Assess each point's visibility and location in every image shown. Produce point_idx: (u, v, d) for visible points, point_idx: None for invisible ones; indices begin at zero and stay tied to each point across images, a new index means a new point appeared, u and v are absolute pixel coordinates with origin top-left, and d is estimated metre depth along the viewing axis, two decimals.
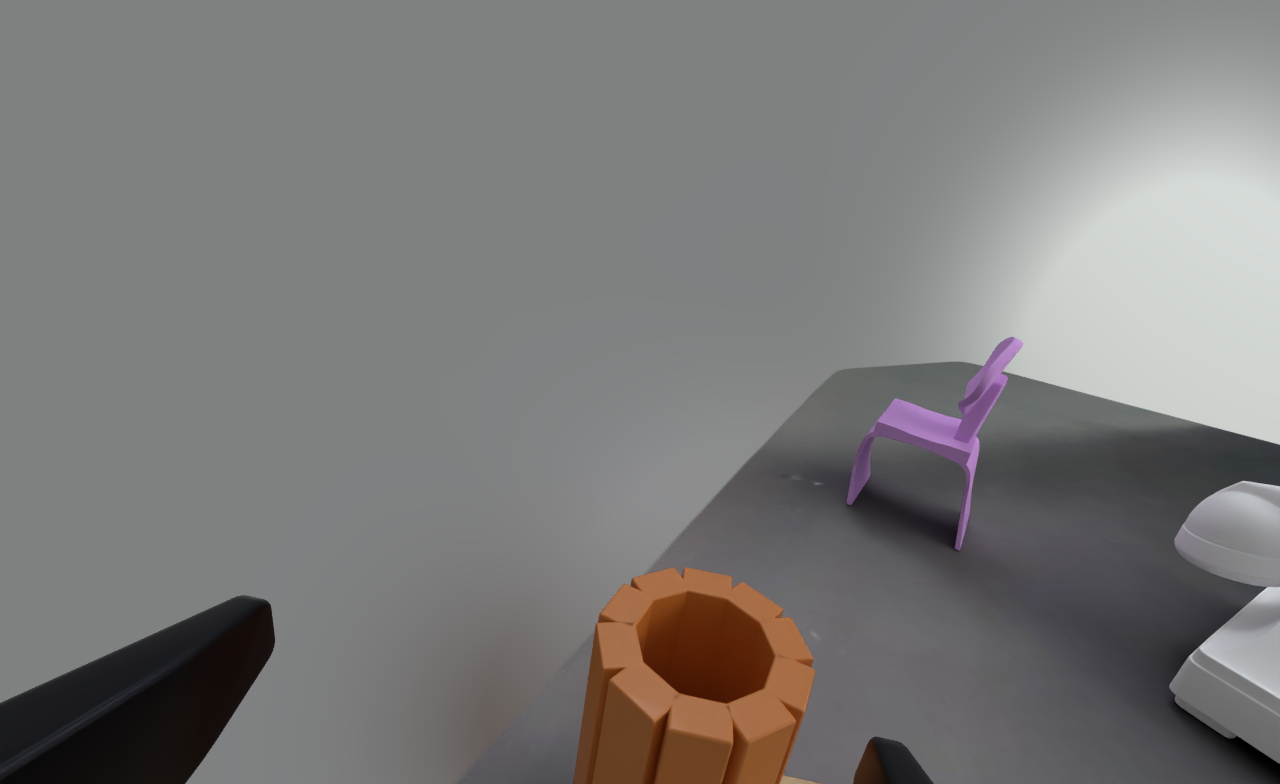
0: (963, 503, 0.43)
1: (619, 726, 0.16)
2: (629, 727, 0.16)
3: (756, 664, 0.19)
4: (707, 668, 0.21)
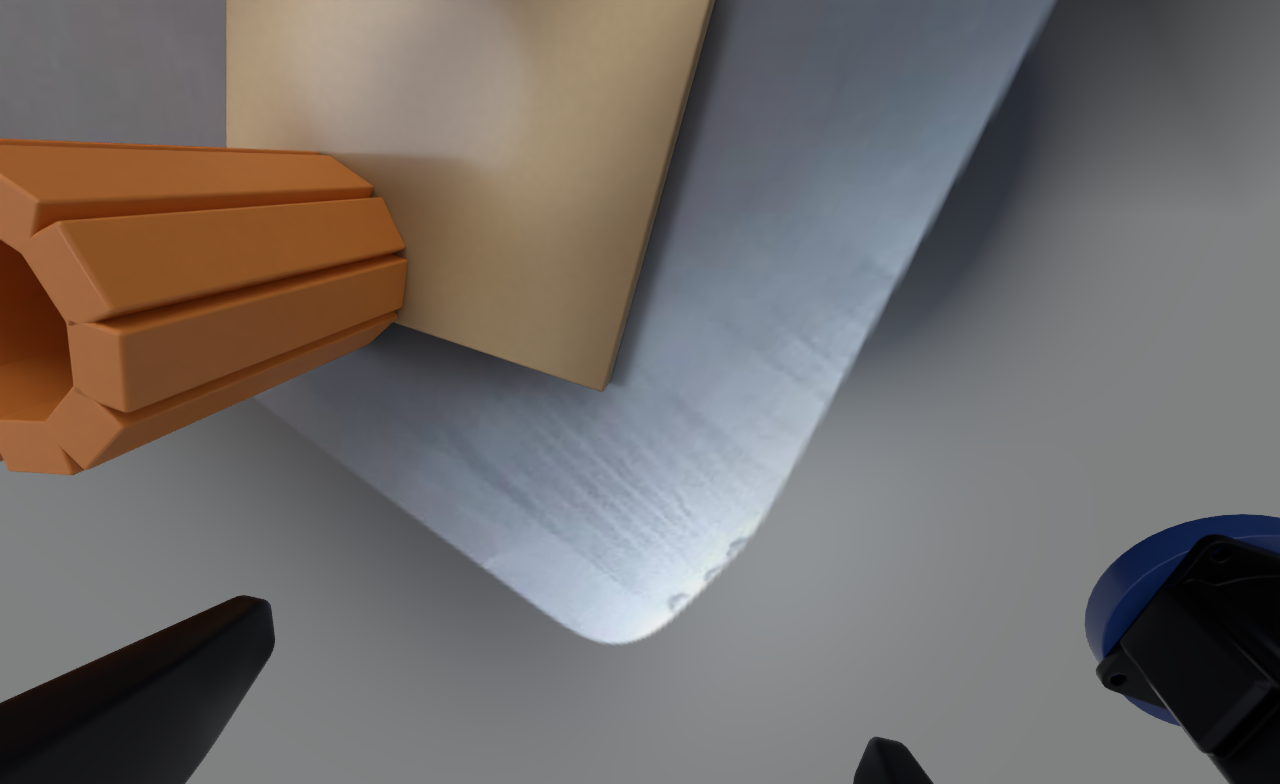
0: None
1: (155, 431, 0.13)
2: (149, 429, 0.13)
3: None
4: None
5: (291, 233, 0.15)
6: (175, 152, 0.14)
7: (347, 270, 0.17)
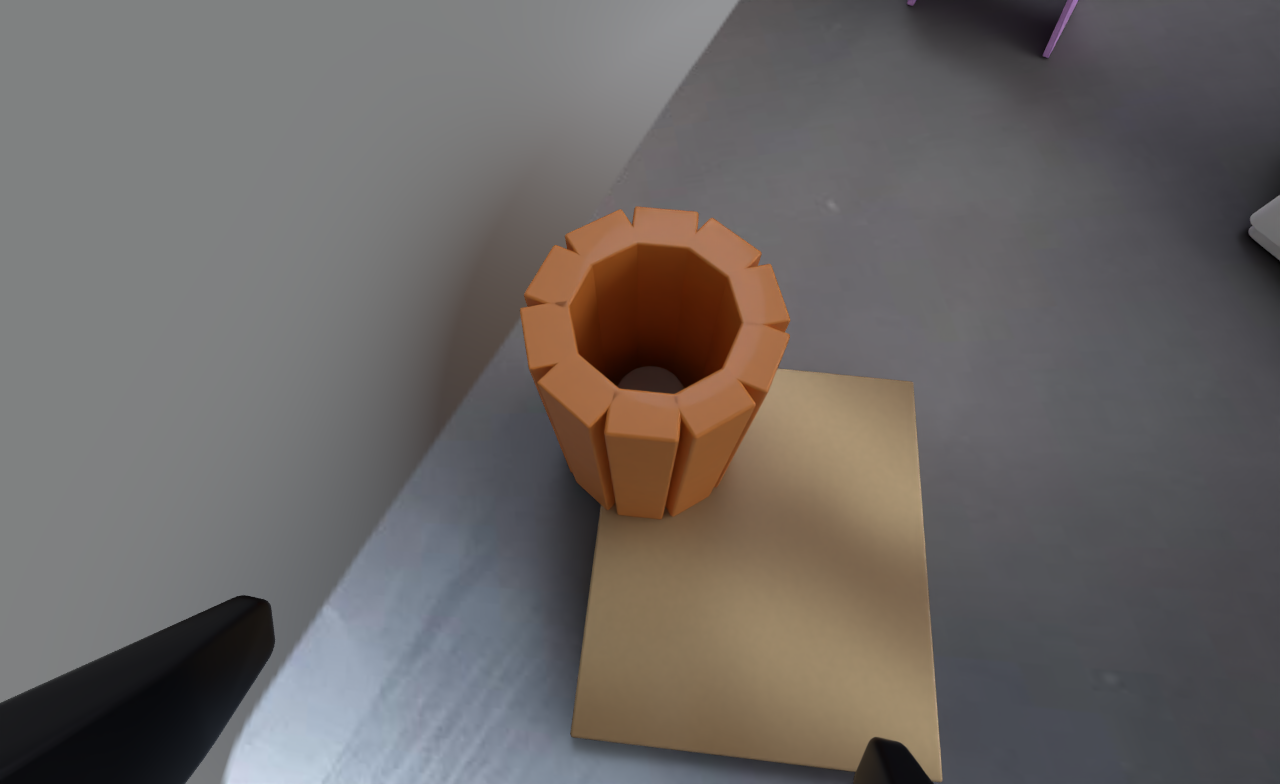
0: None
1: (561, 417, 0.15)
2: (569, 421, 0.14)
3: (725, 319, 0.16)
4: (677, 310, 0.18)
5: (706, 475, 0.18)
6: None
7: None
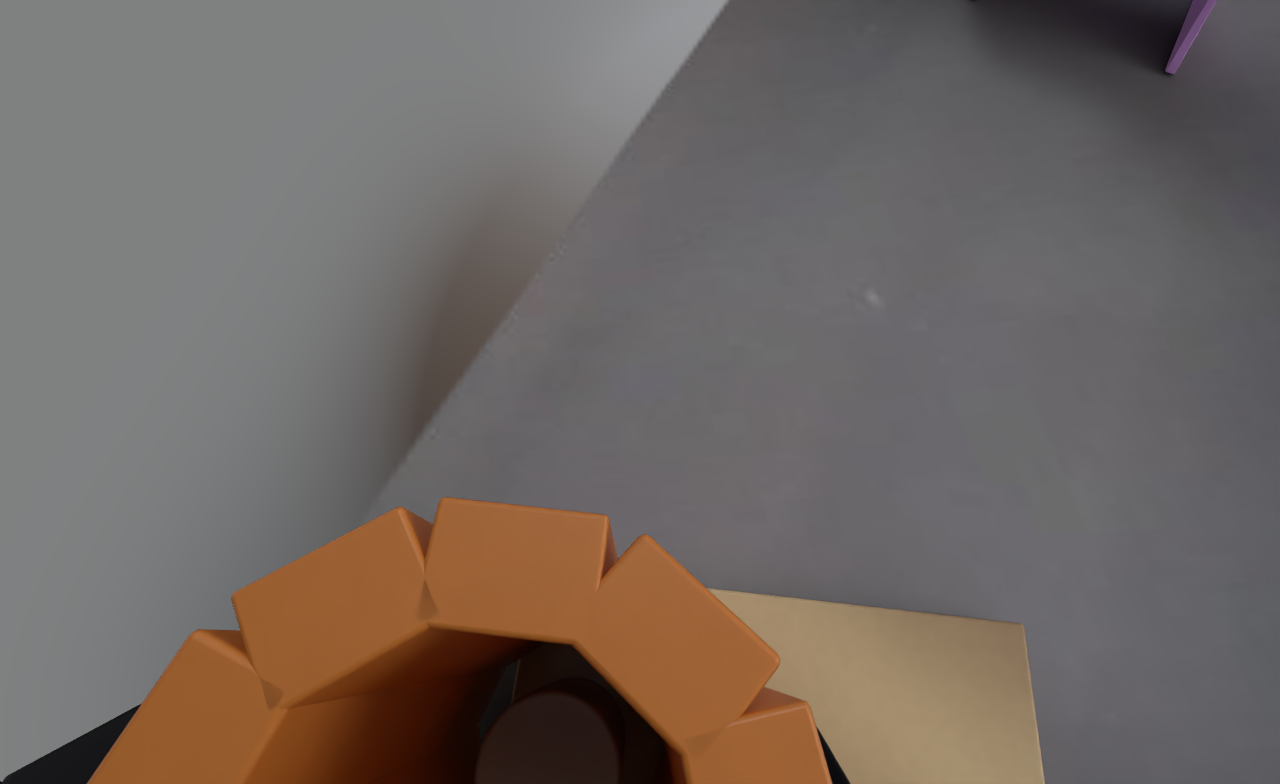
0: None
1: None
2: None
3: None
4: None
5: None
6: None
7: None
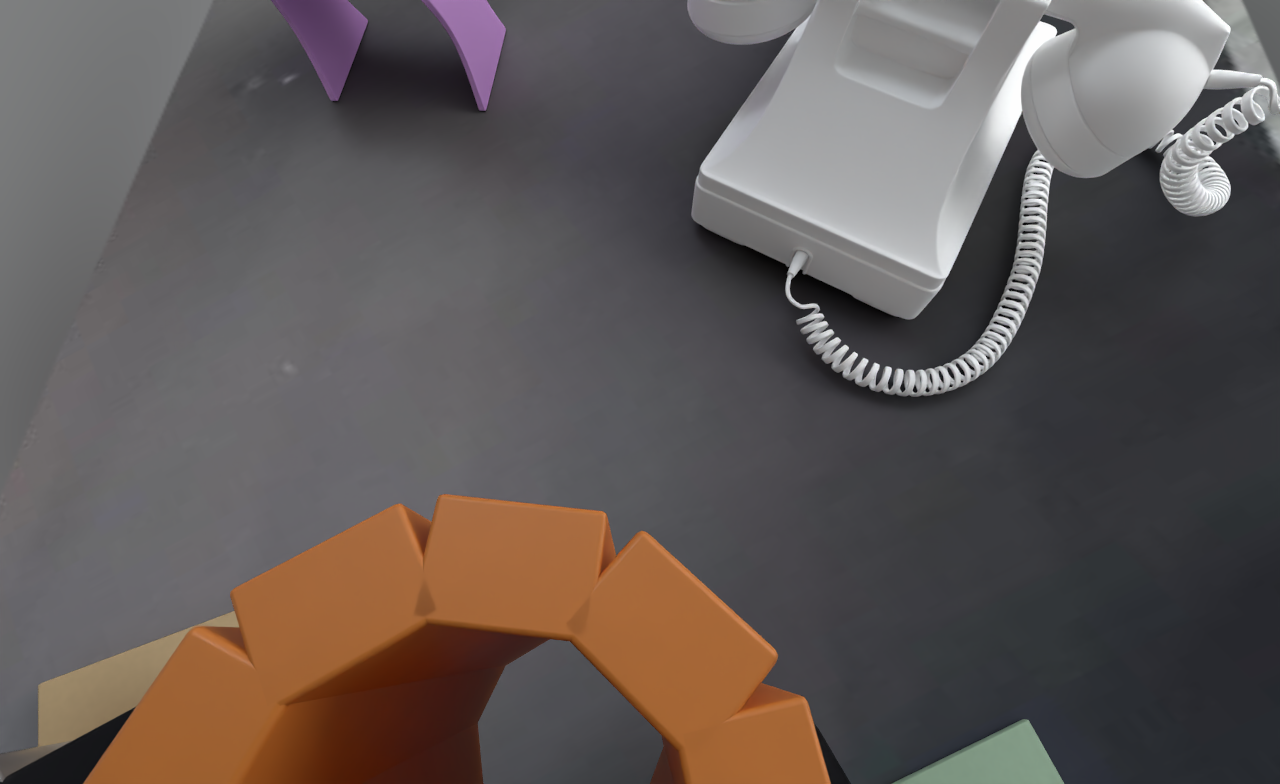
0: (454, 41, 0.29)
1: None
2: None
3: None
4: None
5: None
6: None
7: None
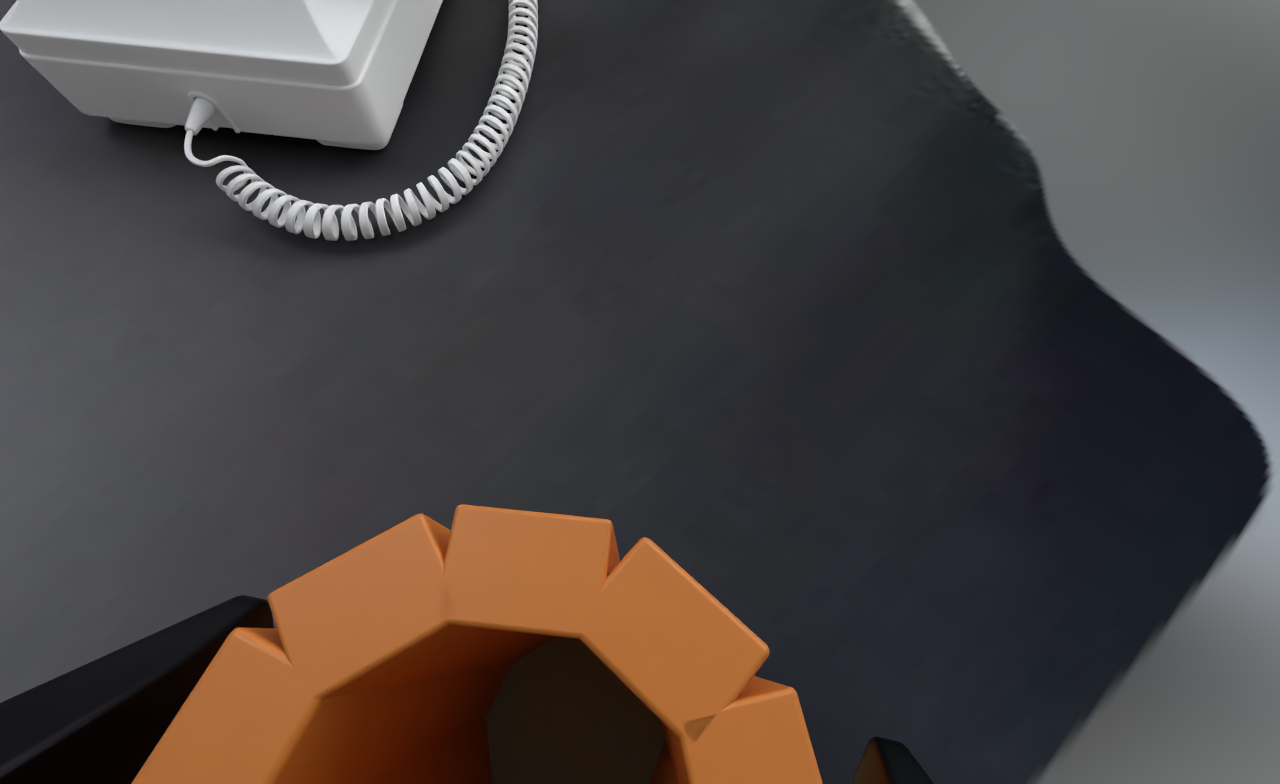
0: None
1: None
2: None
3: (682, 775, 0.06)
4: None
5: None
6: None
7: None
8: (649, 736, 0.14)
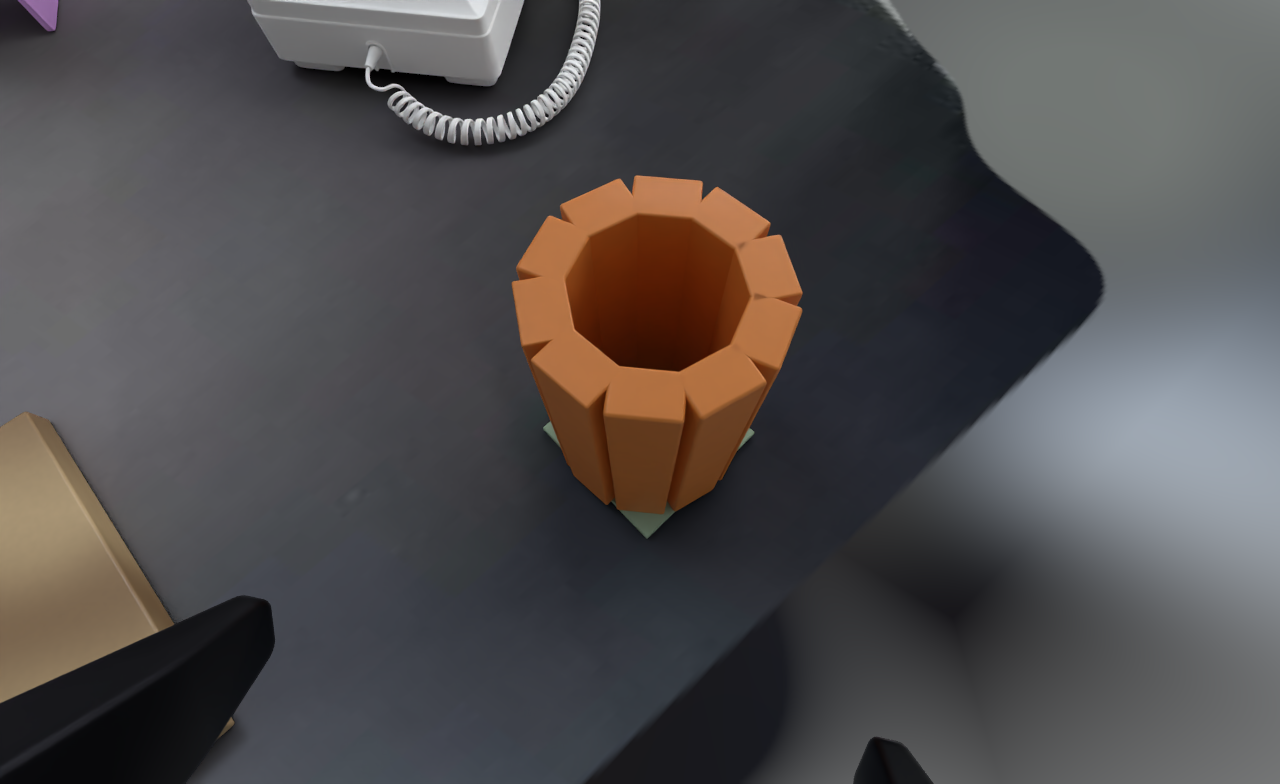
0: None
1: (557, 399, 0.14)
2: (566, 403, 0.13)
3: (732, 296, 0.15)
4: (680, 290, 0.17)
5: (711, 464, 0.17)
6: None
7: None
8: None
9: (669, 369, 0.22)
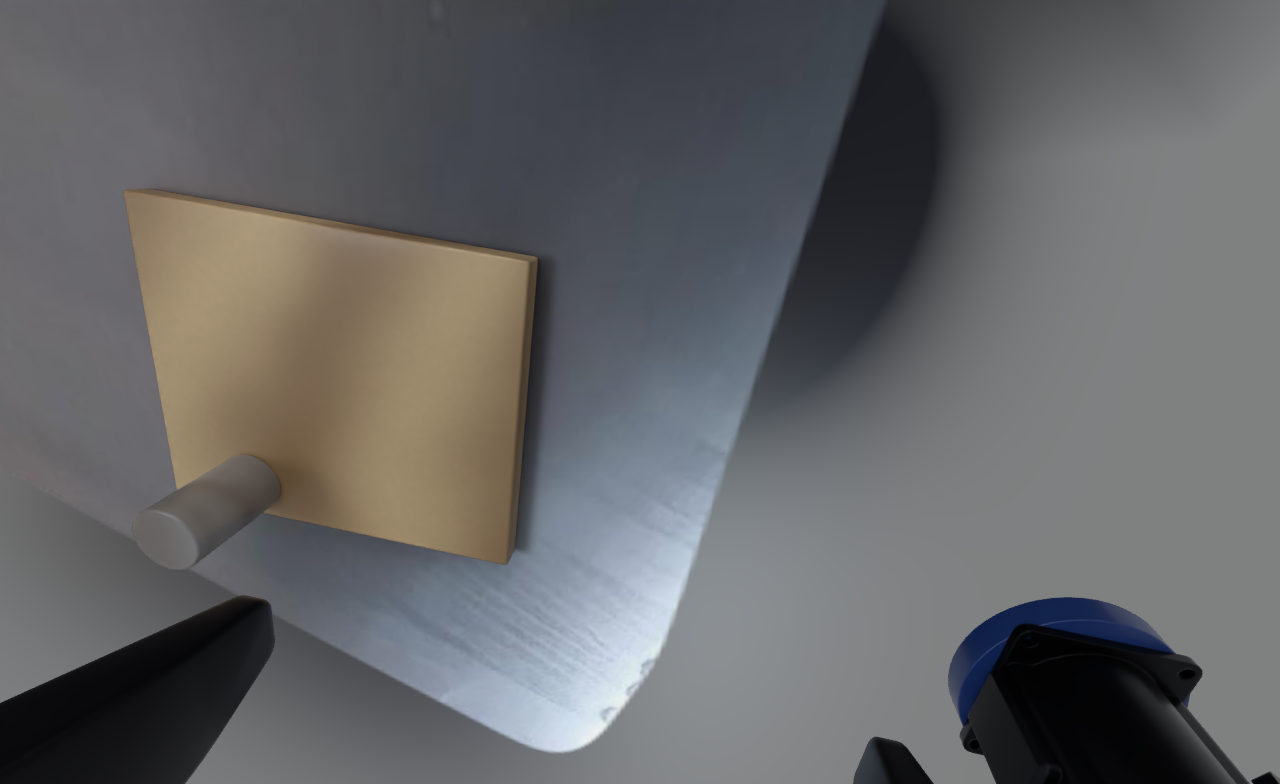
0: None
1: None
2: None
3: None
4: None
5: None
6: None
7: None
8: None
9: None
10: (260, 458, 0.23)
